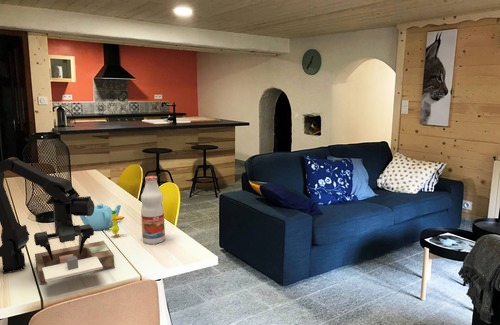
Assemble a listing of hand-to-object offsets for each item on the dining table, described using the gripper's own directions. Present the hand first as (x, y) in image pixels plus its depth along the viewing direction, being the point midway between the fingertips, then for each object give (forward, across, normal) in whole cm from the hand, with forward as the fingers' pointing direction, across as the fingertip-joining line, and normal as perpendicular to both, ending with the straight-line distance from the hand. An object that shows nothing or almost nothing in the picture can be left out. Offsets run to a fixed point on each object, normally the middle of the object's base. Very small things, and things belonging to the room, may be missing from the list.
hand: (66, 256), depth 140 cm
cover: (-1, 0, -13) cm, 13 cm away
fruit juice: (+5, +36, +10) cm, 37 cm away
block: (+5, 0, 0) cm, 5 cm away
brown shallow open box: (+5, +3, 0) cm, 5 cm away
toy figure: (+5, +24, +23) cm, 33 cm away
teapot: (+5, +21, +41) cm, 46 cm away
